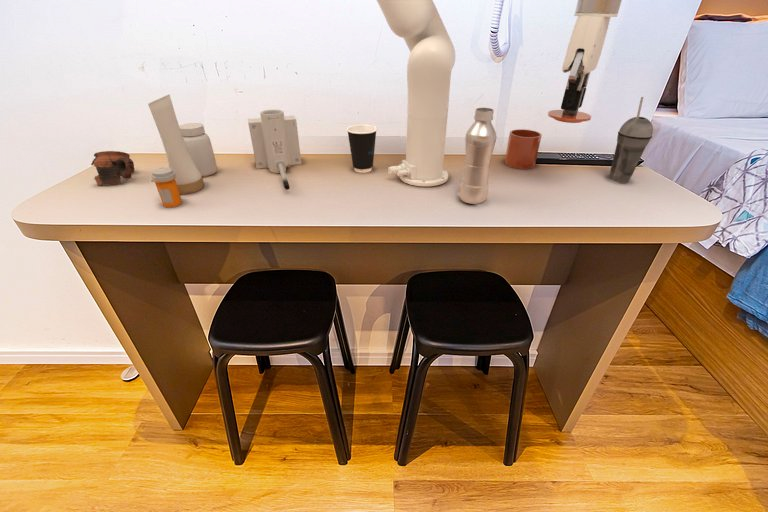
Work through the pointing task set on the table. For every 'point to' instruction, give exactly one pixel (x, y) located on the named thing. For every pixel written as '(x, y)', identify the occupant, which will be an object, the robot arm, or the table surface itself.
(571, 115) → the jar lid
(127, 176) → the pottery mug
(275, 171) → the electronic device
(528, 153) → the storage jar
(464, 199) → the metal water bottle
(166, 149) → the toiletry set
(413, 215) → the table surface
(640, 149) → the beverage cup
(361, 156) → the dixie cup
